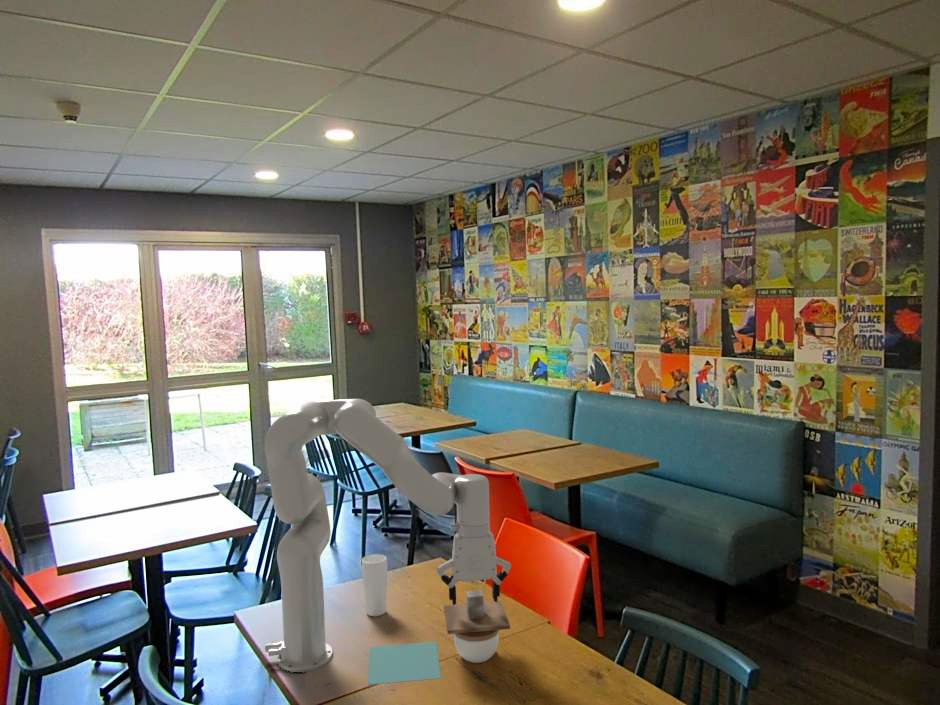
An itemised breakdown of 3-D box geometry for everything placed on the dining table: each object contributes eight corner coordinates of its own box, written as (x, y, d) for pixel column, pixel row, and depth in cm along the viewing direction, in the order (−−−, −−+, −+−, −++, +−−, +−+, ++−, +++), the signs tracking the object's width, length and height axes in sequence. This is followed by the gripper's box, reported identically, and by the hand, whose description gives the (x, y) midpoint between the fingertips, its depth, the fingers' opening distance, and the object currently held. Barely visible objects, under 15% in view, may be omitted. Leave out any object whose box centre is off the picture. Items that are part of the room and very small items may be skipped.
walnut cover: (447, 634, 144) (446, 608, 144) (443, 608, 158) (443, 585, 158) (510, 628, 145) (509, 603, 145) (500, 604, 159) (500, 580, 159)
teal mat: (367, 686, 141) (367, 684, 141) (370, 649, 157) (370, 647, 157) (441, 680, 143) (440, 678, 143) (436, 643, 159) (436, 641, 159)
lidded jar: (473, 641, 159) (472, 604, 159) (508, 655, 153) (508, 616, 152) (444, 660, 151) (443, 621, 150) (480, 675, 144) (479, 634, 144)
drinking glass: (372, 621, 171) (370, 565, 170) (358, 612, 176) (356, 558, 175) (393, 612, 175) (391, 558, 174) (379, 604, 181) (378, 552, 180)
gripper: (437, 536, 145) (438, 610, 146) (513, 532, 147) (514, 605, 148) (434, 525, 153) (436, 596, 154) (507, 521, 155) (508, 591, 156)
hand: (474, 600), depth 151 cm, fingers open, 9 cm apart
